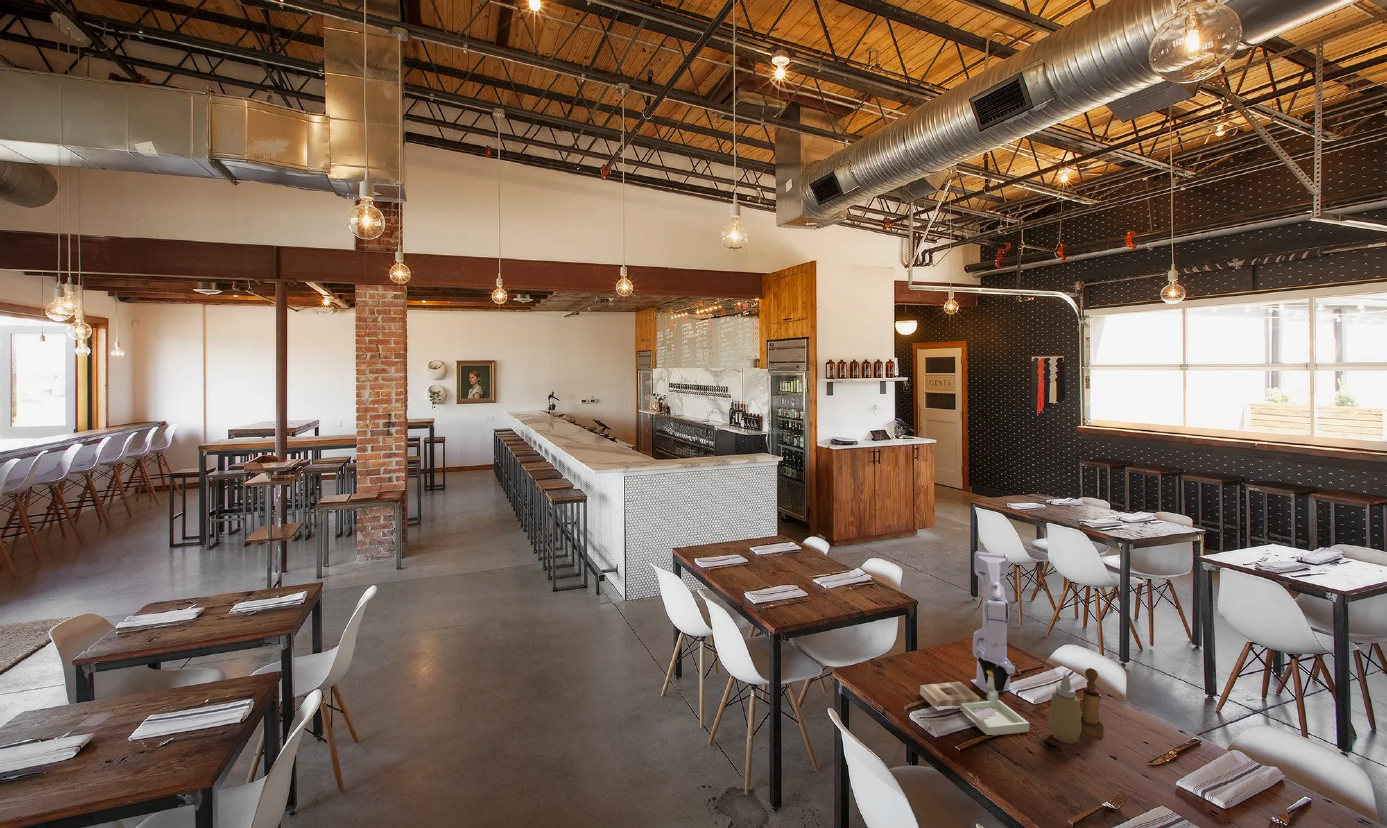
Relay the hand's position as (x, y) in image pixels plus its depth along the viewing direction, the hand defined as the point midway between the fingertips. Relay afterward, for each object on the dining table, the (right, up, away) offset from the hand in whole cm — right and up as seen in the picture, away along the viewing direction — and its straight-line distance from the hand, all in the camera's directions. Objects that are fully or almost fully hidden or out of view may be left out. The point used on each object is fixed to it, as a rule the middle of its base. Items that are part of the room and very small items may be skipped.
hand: (994, 686), depth 177 cm
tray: (0, -10, 0) cm, 10 cm away
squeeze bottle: (+16, -11, -8) cm, 21 cm away
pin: (0, -4, +1) cm, 4 cm away
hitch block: (-8, -10, +12) cm, 18 cm away
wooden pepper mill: (+25, -11, -4) cm, 28 cm away
